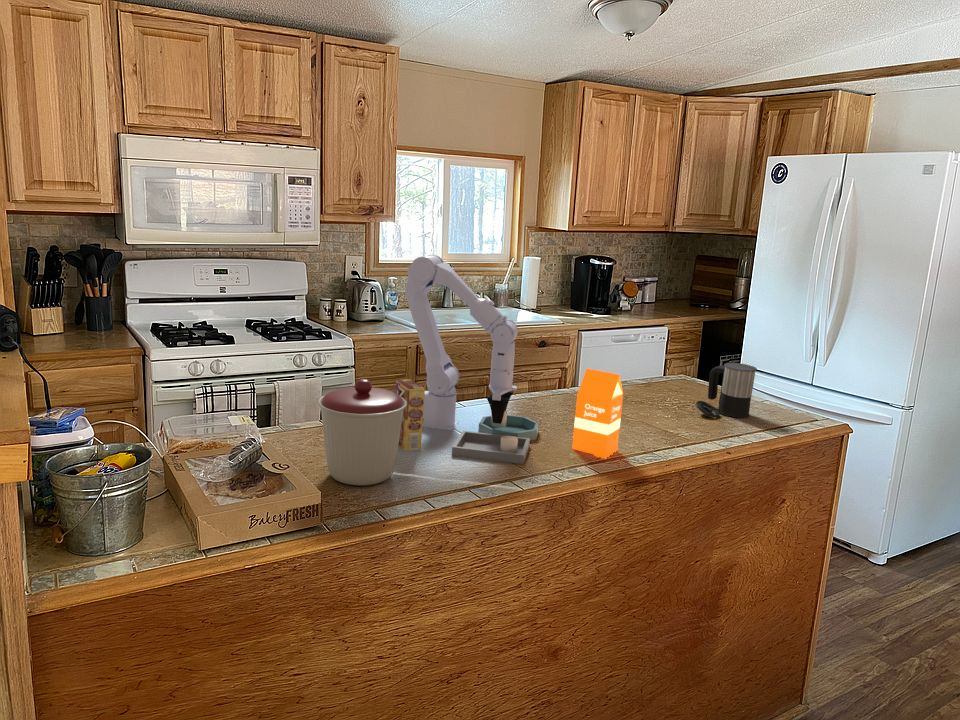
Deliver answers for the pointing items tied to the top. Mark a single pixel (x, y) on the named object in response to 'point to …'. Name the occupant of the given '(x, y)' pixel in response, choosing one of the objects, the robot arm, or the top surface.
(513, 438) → the pebble
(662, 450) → the top surface
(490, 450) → the tray
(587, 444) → the orange juice
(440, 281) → the robot arm
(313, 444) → the top surface
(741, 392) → the milk frother
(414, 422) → the candy box
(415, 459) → the top surface
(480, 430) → the bowl
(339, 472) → the canister
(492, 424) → the pebble
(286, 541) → the top surface
